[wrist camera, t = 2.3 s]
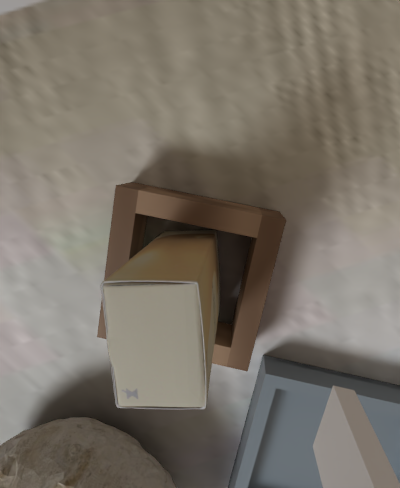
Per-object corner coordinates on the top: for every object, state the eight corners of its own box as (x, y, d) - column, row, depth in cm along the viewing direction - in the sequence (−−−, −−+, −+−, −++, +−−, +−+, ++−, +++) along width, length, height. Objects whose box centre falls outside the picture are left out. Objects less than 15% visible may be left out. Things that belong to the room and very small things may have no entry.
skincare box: (221, 305, 27) (209, 418, 15) (167, 306, 27) (114, 416, 16) (217, 224, 25) (201, 280, 14) (160, 227, 26) (96, 283, 14)
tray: (227, 489, 31) (226, 516, 29) (263, 354, 28) (265, 373, 25) (383, 527, 30) (395, 559, 28) (440, 394, 27) (460, 418, 24)
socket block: (113, 315, 28) (97, 336, 25) (132, 182, 25) (116, 185, 22) (246, 345, 28) (247, 371, 24) (279, 211, 25) (286, 219, 21)
